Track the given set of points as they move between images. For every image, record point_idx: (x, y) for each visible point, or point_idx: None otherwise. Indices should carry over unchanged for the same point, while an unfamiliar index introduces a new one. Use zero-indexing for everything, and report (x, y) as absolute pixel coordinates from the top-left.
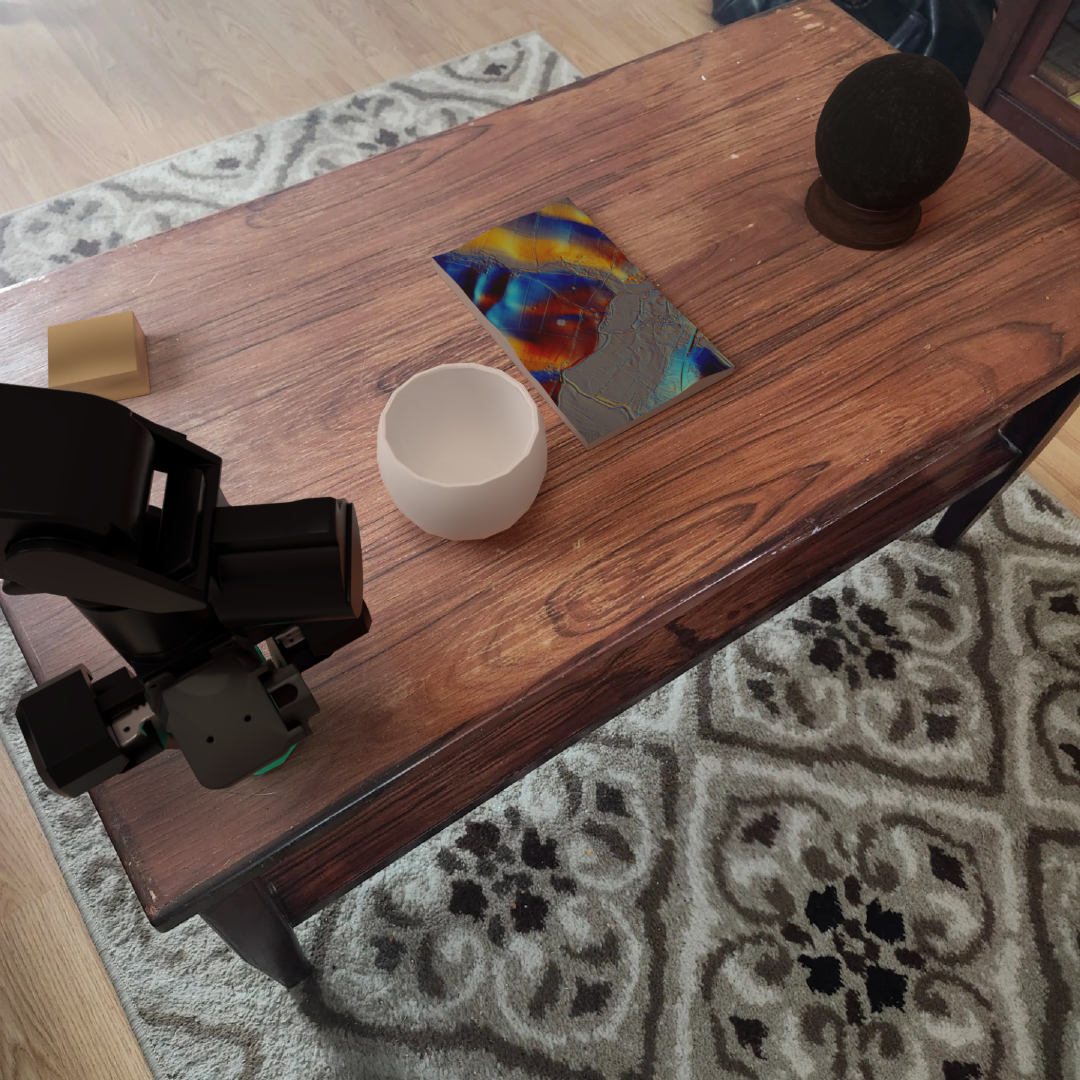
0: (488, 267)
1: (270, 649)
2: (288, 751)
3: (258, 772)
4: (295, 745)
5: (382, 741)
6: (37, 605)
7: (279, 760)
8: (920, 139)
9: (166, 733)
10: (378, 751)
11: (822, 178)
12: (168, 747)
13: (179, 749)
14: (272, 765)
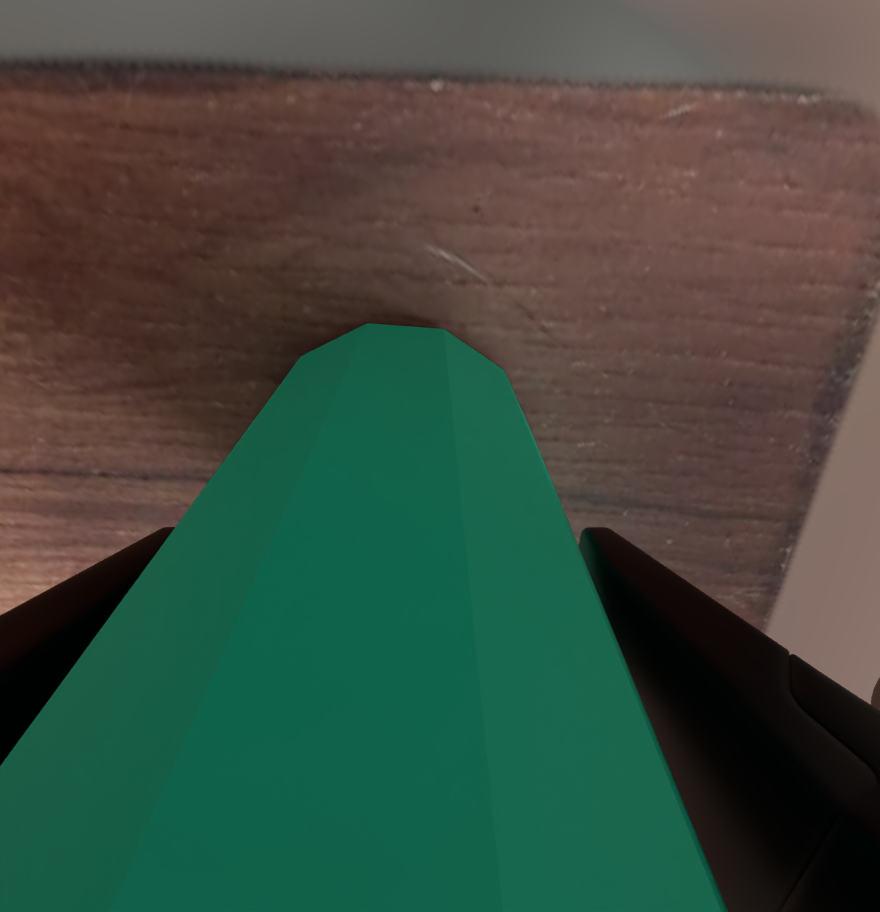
0: None
1: None
2: (331, 345)
3: (445, 336)
4: (308, 353)
5: (21, 193)
6: None
7: (367, 332)
8: None
9: (878, 873)
10: (44, 165)
11: None
12: (767, 649)
13: (677, 575)
14: (396, 331)
